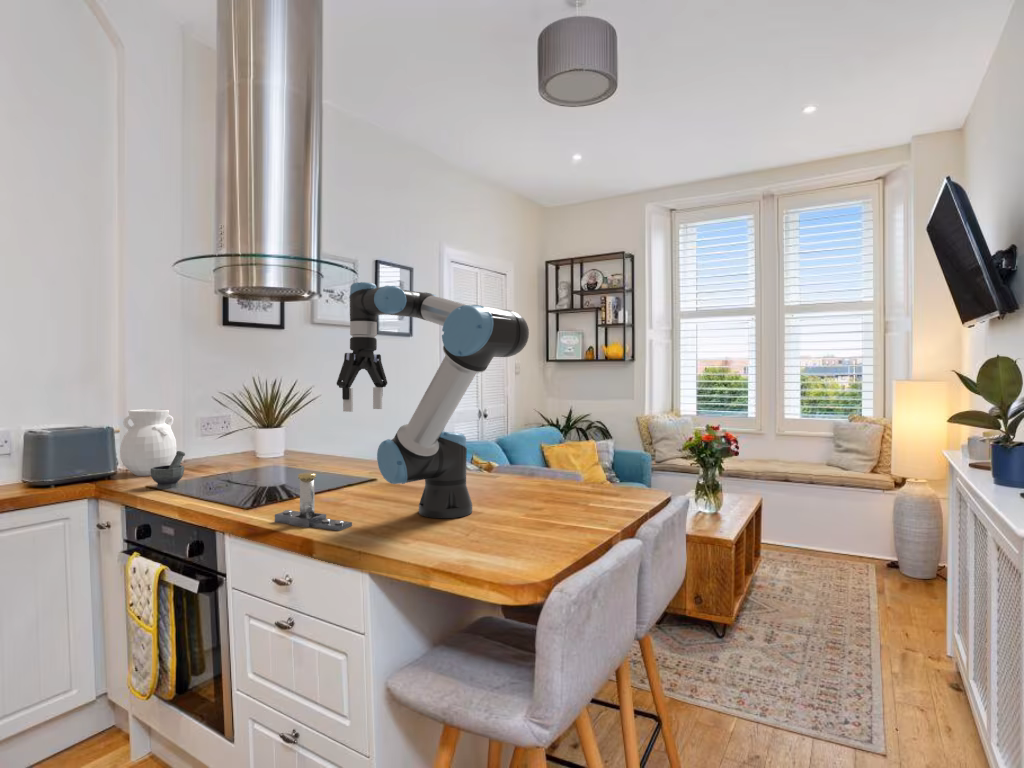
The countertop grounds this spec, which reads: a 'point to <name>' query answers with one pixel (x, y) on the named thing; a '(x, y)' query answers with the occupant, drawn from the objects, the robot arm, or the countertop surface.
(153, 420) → the white handled vase
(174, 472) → the mortar and pestle
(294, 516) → the grey mounting bracket
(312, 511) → the pin
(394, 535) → the countertop surface
